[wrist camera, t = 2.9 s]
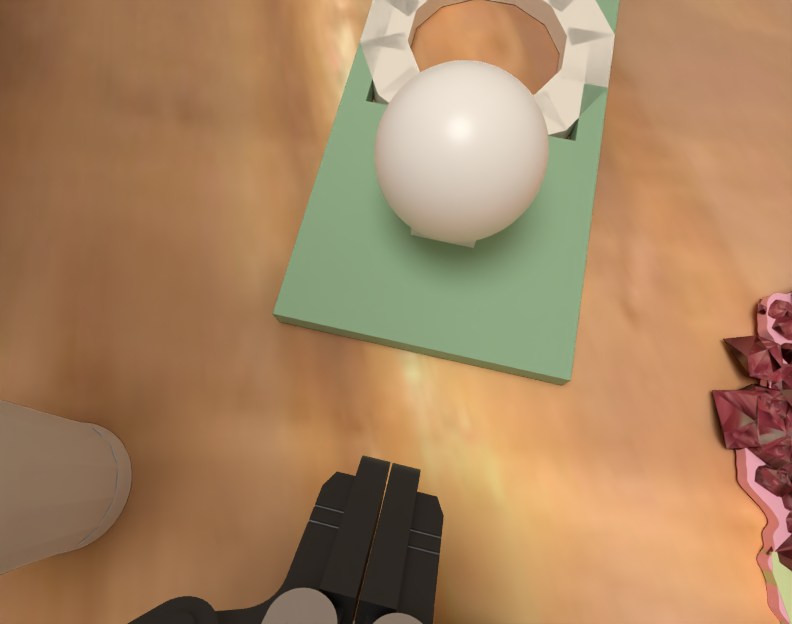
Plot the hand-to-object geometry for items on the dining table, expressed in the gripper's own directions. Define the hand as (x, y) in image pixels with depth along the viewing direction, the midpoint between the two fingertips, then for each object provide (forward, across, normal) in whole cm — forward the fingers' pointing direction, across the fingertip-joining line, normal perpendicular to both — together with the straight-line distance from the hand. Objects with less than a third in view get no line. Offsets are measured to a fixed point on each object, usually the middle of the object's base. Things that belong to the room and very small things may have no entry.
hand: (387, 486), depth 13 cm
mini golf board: (+25, 0, +6) cm, 26 cm away
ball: (+15, 0, +6) cm, 16 cm away
